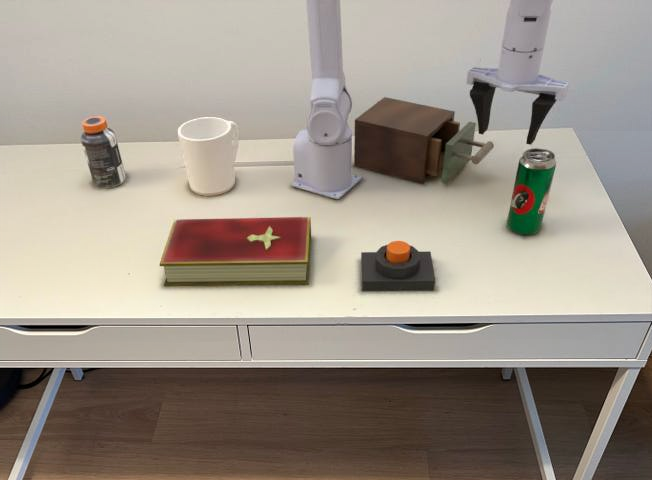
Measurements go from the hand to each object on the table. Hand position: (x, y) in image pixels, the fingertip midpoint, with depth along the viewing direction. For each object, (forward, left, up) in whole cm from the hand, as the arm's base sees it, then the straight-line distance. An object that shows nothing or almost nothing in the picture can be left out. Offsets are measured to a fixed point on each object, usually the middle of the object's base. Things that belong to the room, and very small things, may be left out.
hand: (506, 136), depth 103 cm
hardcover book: (-25, -37, -10) cm, 46 cm away
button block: (-3, -29, -10) cm, 31 cm away
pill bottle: (-61, -29, -10) cm, 69 cm away
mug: (-43, -20, -10) cm, 49 cm away
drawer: (-12, +2, -9) cm, 15 cm away
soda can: (+8, -8, -10) cm, 15 cm away
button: (-3, -29, -6) cm, 30 cm away
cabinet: (-18, +2, -10) cm, 21 cm away
